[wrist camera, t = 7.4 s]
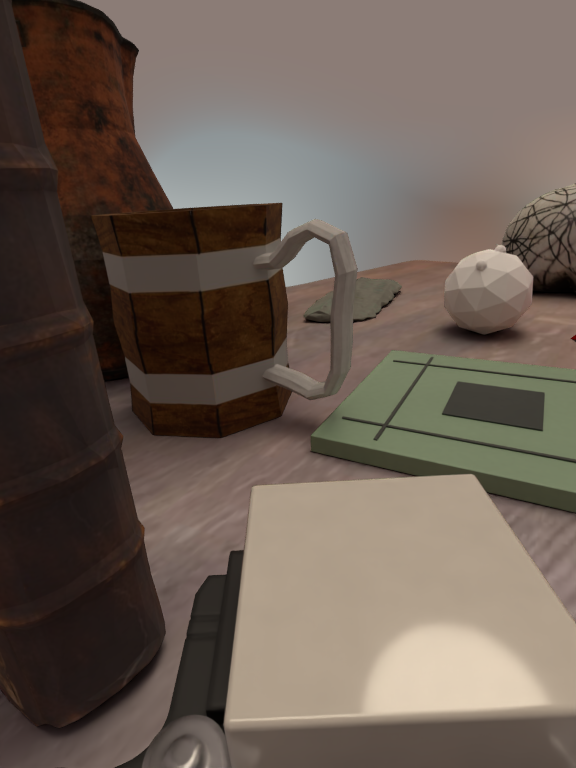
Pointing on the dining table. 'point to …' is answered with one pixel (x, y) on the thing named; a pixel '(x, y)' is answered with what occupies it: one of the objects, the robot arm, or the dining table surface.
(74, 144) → the pitcher
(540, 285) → the sculpture
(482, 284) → the decorative ball
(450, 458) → the grid board
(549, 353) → the dining table surface
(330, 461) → the dining table surface
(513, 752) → the beige rectangular block
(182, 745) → the robot arm
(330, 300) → the stone slab
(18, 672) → the book
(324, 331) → the dining table surface
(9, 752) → the dining table surface
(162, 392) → the mug
